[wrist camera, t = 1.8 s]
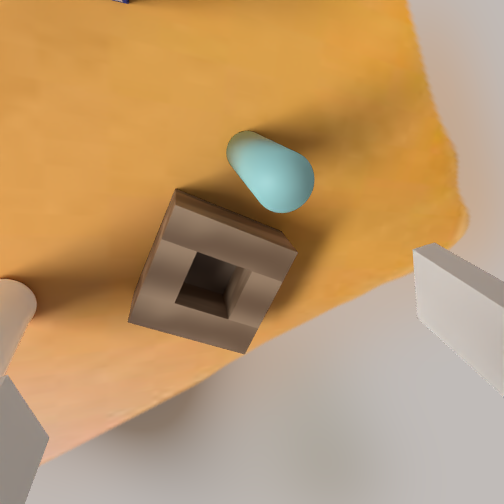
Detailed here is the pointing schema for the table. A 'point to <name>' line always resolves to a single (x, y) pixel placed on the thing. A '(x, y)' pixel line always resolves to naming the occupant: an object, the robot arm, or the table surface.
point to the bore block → (210, 274)
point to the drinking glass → (13, 318)
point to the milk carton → (123, 0)
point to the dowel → (271, 171)
